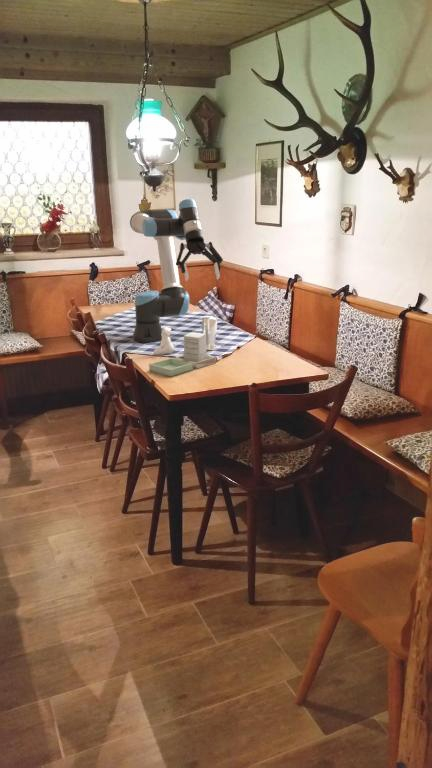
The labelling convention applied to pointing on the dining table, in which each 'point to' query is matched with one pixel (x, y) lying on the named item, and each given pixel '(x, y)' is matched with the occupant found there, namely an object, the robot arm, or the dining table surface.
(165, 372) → the green tray
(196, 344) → the supplement box
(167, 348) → the white creature statuette
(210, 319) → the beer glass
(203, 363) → the beige square tray
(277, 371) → the dining table surface
